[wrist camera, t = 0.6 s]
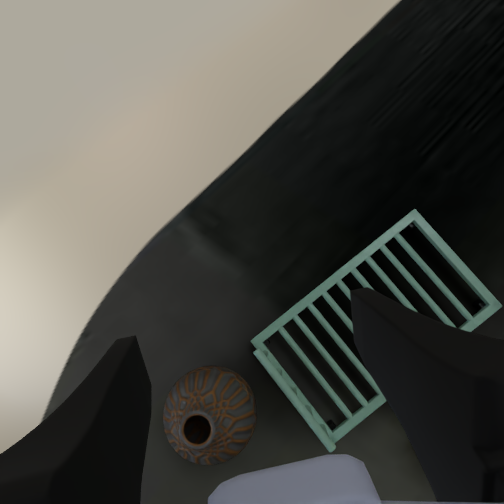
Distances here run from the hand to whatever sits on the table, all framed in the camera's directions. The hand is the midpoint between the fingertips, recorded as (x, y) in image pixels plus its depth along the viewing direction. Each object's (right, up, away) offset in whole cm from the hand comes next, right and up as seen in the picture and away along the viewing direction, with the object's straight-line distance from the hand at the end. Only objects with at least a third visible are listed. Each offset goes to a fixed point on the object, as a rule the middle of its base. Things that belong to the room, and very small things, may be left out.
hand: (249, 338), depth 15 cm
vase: (-3, -10, +23) cm, 25 cm away
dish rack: (+10, -3, +23) cm, 25 cm away
